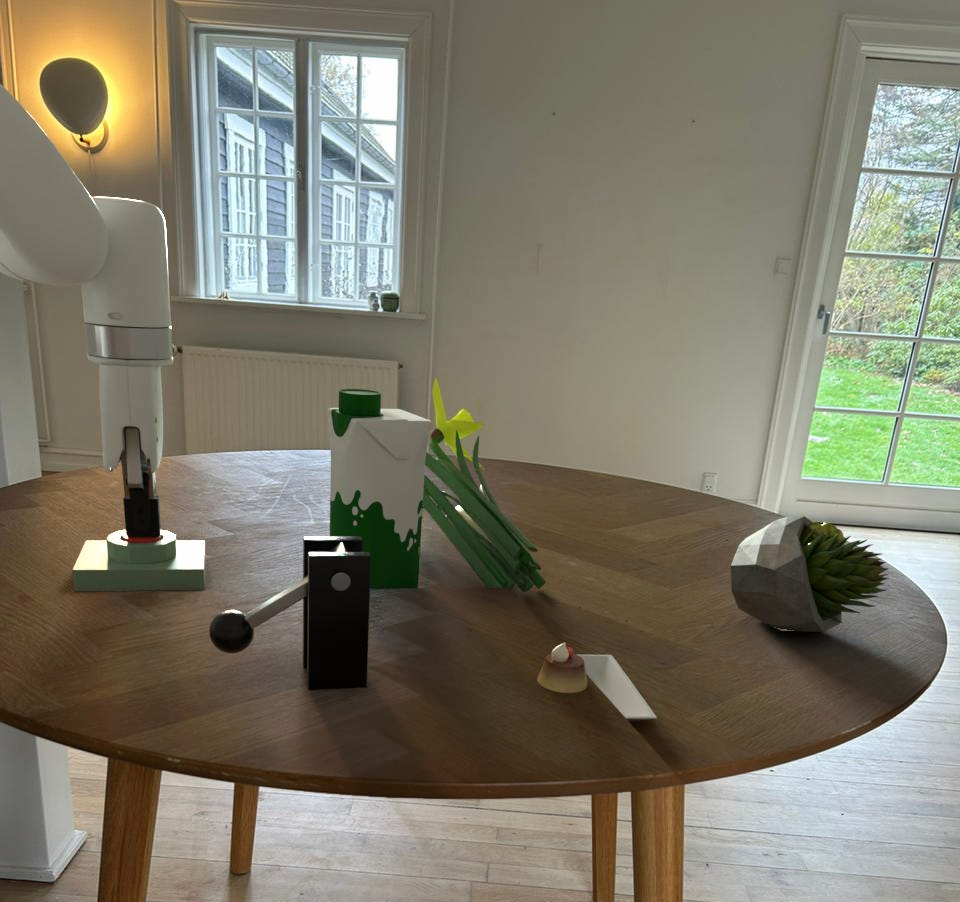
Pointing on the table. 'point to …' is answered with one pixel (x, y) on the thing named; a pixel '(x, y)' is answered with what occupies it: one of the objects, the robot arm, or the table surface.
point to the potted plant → (803, 575)
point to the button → (140, 539)
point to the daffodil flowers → (474, 509)
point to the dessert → (570, 676)
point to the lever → (255, 616)
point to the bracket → (336, 613)
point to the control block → (140, 564)
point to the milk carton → (378, 484)
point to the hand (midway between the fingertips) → (143, 535)
